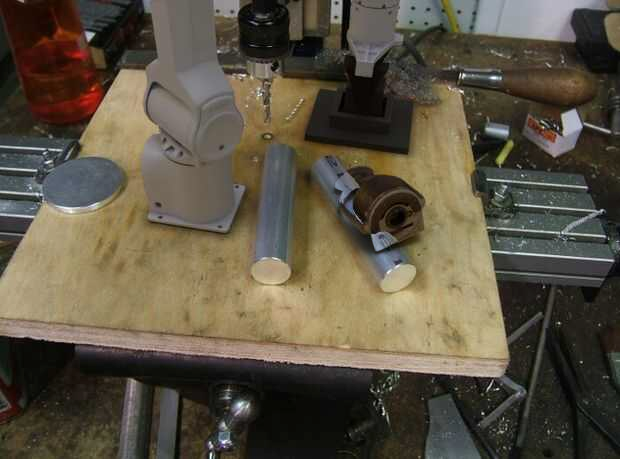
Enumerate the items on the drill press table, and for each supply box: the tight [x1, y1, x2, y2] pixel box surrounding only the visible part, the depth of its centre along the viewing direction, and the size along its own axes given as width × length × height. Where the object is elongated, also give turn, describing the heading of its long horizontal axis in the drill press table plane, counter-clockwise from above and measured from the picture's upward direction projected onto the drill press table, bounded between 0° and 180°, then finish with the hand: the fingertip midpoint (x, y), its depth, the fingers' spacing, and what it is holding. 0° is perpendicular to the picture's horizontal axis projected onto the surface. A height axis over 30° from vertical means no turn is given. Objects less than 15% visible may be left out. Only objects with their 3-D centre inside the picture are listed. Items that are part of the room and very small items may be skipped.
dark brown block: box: [344, 76, 387, 117], centre depth 76 cm, size 5×4×4 cm
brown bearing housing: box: [338, 165, 426, 243], centre depth 63 cm, size 7×13×10 cm
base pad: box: [304, 87, 414, 155], centre depth 78 cm, size 14×12×3 cm
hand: (363, 98), depth 76 cm, fingers closed on dark brown block, 4 cm apart
